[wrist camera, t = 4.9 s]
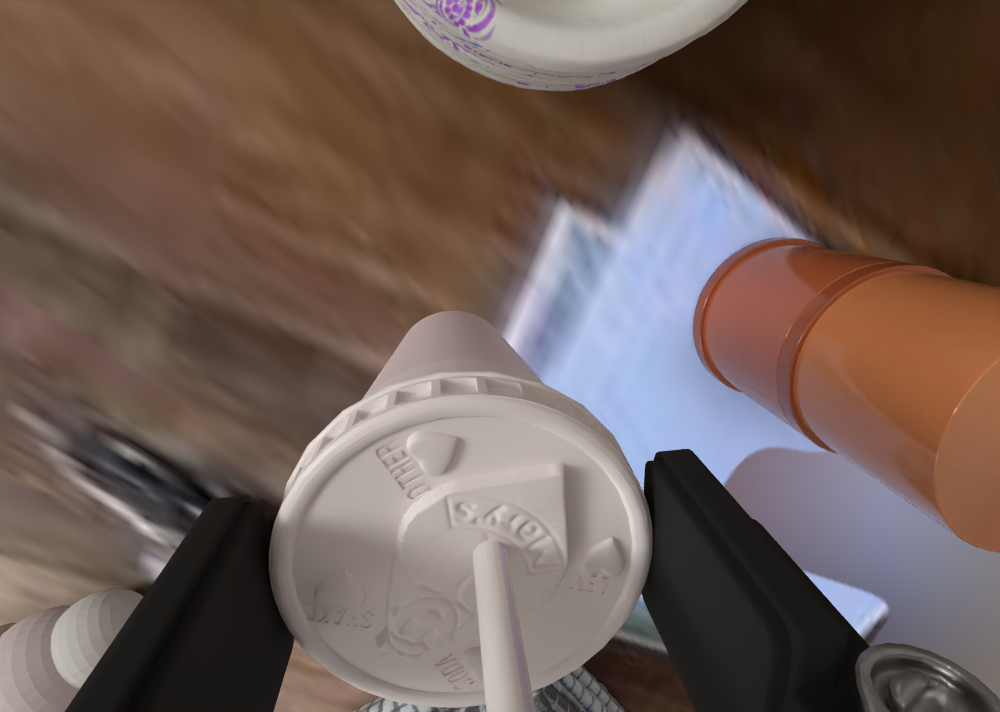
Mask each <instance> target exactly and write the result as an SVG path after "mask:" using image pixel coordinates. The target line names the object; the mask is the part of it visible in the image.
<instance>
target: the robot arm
mask: <svg viewBox="0 0 1000 712" xmlns="http://www.w3.org/2000/svg"><path fill="white" fill-rule="evenodd" d="M644 496H645V499H646V502H647V505H648V508H649V513H650V518H651V523H652V537H653V541H652V556H651V562H650V568H649V572H648V575H647V579H646V582H645V585H644V587H643V590H642V596H643V599H644V602H645V604H646V606H647V609H648V611H649V613H650V615H651V617H652V619H653V621H654V624H655V626H656V628H657V630H658V632H659V634H660V636H661V639H662V641H663V643H664V645H665V647H666V649H667V651H668V654H669V656H670V658H671V660H672V662H673V664H674V666H675V669H676V671H677V673H678V675H679V677H680V679H681V681H682V684H683V686H684V688H685V690H686V692H687V694H688V696H689V699H690V701H691V703H692V705H693V707H694V709H695V711H696V712H1000V699H999V698H998V697H997V695H996V694H995V693H993V692H992V691H991V690H990V689H989V688H988V687H987V686H986V685H985V684H983V683H982V682H981V681H980V680H979V679H978V678H977V677H976V676H974V675H972V674H971V673H969V672H968V671H966V670H965V669H963V668H962V667H960V666H959V665H957V664H956V663H954V662H952V661H950V660H948V659H946V658H944V657H941V656H939V655H937V654H935V653H933V652H931V651H928V650H924V649H920V648H917V647H914V646H910V645H904V644H893V643H886V644H880V645H875V646H871V647H870V646H869V645H868V644H867V643H866V642H865V641H864V639H863V638H862V637H861V636H860V635H859V634H858V633H857V632H856V630H855V629H854V628H853V627H852V626H851V625H850V624H849V623H848V621H847V620H846V619H845V618H844V617H843V616H842V615H841V614H840V612H839V611H838V610H837V609H836V608H835V607H834V606H833V605H832V603H831V602H830V601H829V600H828V599H827V598H826V597H825V596H824V595H823V593H822V592H821V591H820V590H819V589H818V588H817V587H816V586H815V584H814V583H813V582H812V581H811V580H810V579H809V578H808V577H807V575H806V574H805V573H804V572H803V571H802V570H801V569H800V568H799V567H798V565H797V564H796V563H795V562H794V561H793V560H792V559H791V557H790V556H789V555H788V554H787V553H786V552H785V551H784V550H783V549H782V547H781V546H780V545H779V544H778V543H777V542H776V541H775V540H774V538H773V537H772V536H771V535H770V534H769V533H768V532H767V531H766V529H765V528H764V527H763V526H762V525H761V524H760V523H758V522H757V521H756V520H754V519H752V518H751V517H750V516H749V515H748V514H747V513H746V512H745V511H744V510H743V508H742V507H741V506H740V505H739V504H738V503H737V501H736V500H735V499H734V498H733V497H732V496H731V495H730V494H729V492H728V491H727V490H726V489H725V488H724V487H723V485H722V484H721V483H720V482H719V481H718V480H717V479H716V477H715V476H714V475H713V474H712V473H711V472H710V471H709V470H708V468H707V467H706V466H705V465H704V464H703V463H702V462H701V460H700V459H699V458H698V457H697V456H696V455H695V454H694V452H693V451H691V450H690V449H681V450H671V451H662V452H657V453H656V455H655V457H654V461H648V462H646V465H645V477H644ZM271 536H272V533H271V528H270V524H269V520H268V516H267V512H266V509H265V506H264V505H263V503H254V500H253V499H252V497H251V496H249V495H245V496H235V497H226V498H217V499H212V500H211V501H210V502H209V503H208V504H207V506H206V507H205V509H204V510H203V512H202V513H201V514H200V516H199V517H198V519H197V520H196V522H195V523H194V525H193V526H192V528H191V529H190V531H189V532H188V534H187V535H186V537H185V538H184V539H183V541H182V542H181V544H180V545H179V547H178V548H177V550H176V551H175V553H174V554H173V556H172V557H171V559H170V560H169V562H168V563H167V564H166V566H165V567H164V569H163V570H162V572H161V573H160V575H159V576H158V578H157V579H156V581H155V582H154V584H153V585H152V586H151V588H150V589H149V591H148V592H147V594H146V595H145V596H144V597H143V598H142V599H141V600H140V602H139V603H138V605H137V606H136V608H135V609H134V611H133V612H132V614H131V615H130V617H129V618H128V619H127V621H126V622H125V624H124V625H123V627H122V628H121V630H120V631H119V633H118V634H117V636H116V637H115V638H114V640H113V641H112V643H111V644H110V646H109V647H108V649H107V650H106V652H105V653H104V655H103V656H102V657H101V659H100V660H99V662H98V663H97V665H96V666H95V668H94V669H93V671H92V672H91V674H90V675H89V676H88V678H87V679H86V681H85V682H84V684H83V685H82V687H81V688H80V690H79V691H78V693H77V694H76V695H75V697H74V698H73V700H72V701H71V703H70V704H69V706H68V707H67V709H66V710H65V712H273V711H274V708H275V704H276V701H277V698H278V695H279V691H280V688H281V685H282V681H283V678H284V675H285V671H286V668H287V665H288V661H289V658H290V655H291V652H292V648H293V643H294V636H293V635H292V633H291V632H290V631H289V629H288V628H287V626H286V624H285V622H284V620H283V618H282V616H281V615H280V612H279V609H278V607H277V604H276V602H275V599H274V595H273V591H272V587H271V581H270V573H269V550H270V542H271Z"/></svg>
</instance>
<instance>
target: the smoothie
mask: <svg viewBox="0 0 1000 712" xmlns="http://www.w3.org/2000/svg"><path fill="white" fill-rule="evenodd" d="M652 541H653V537H652V523H651V518H650V513H649V508H648V505H647V502H646V499H645V496H644V493H643V491H642V489H641V486H640V484H639V482H638V480H637V478H636V477H635V475H634V473H633V471H632V469H631V467H630V465H629V463H628V461H627V459H626V458H625V456H624V454H623V452H622V450H621V448H620V446H619V444H618V442H617V441H616V439H615V437H614V435H613V434H612V433H611V432H610V431H609V430H608V429H607V428H606V427H605V426H604V425H603V424H602V423H601V422H600V421H599V420H597V419H596V418H595V417H594V416H593V415H592V414H591V413H590V412H589V411H588V410H587V409H586V408H585V407H584V406H583V405H582V404H580V403H578V402H577V401H575V400H573V399H571V398H569V397H567V396H565V395H564V394H562V393H560V392H558V391H556V390H554V389H552V388H550V387H549V386H547V385H545V384H544V383H543V382H542V381H541V379H540V378H539V377H538V376H537V375H536V374H535V373H534V372H533V370H532V369H531V368H530V367H529V366H528V365H527V364H526V363H525V362H524V360H523V359H522V358H521V357H520V356H519V355H518V354H517V353H516V352H515V350H514V349H513V348H512V347H511V346H510V345H509V344H508V343H507V342H506V340H505V339H504V338H503V337H502V336H501V335H500V334H499V333H498V331H497V330H496V329H495V328H494V327H493V326H492V325H491V324H489V323H488V322H487V321H485V320H484V319H482V318H480V317H478V316H476V315H474V314H471V313H467V312H462V311H444V312H439V313H436V314H433V315H430V316H428V317H426V318H424V319H422V320H421V321H419V322H418V323H417V324H415V325H414V326H413V327H412V328H411V329H410V330H409V332H408V333H407V334H406V336H405V337H404V338H403V340H402V341H401V343H400V344H399V346H398V347H397V349H396V350H395V352H394V353H393V355H392V356H391V358H390V359H389V361H388V362H387V364H386V365H385V367H384V368H383V369H382V371H381V372H380V374H379V375H378V377H377V378H376V380H375V381H374V383H373V384H372V386H371V387H370V389H369V390H368V392H367V393H366V395H365V396H364V398H363V399H362V400H361V401H359V402H357V403H356V404H354V405H352V406H350V407H349V408H347V409H345V410H343V411H342V412H341V413H340V414H339V415H338V416H337V417H336V418H335V419H334V420H333V421H332V422H331V423H330V424H329V425H328V426H327V427H326V428H325V429H324V430H323V431H322V432H321V433H320V434H319V435H318V436H317V437H316V438H315V439H314V440H313V441H312V442H311V443H310V444H309V445H308V446H307V448H306V450H305V451H304V453H303V455H302V457H301V459H300V460H299V462H298V464H297V466H296V468H295V470H294V471H293V473H292V475H291V477H290V479H289V480H288V482H287V484H286V488H285V493H284V498H283V503H282V505H281V507H280V510H279V513H278V515H277V518H276V520H275V524H274V528H273V532H272V536H271V542H270V550H269V573H270V581H271V587H272V591H273V595H274V599H275V602H276V604H277V607H278V609H279V612H280V615H281V616H282V618H283V620H284V622H285V624H286V626H287V628H288V629H289V631H290V632H291V633H292V635H293V636H294V638H295V639H296V641H297V642H298V643H299V644H300V645H301V646H302V648H303V649H304V650H305V651H306V652H307V653H308V654H309V655H310V656H311V657H312V658H313V659H314V660H315V661H316V662H317V663H319V664H320V665H321V666H322V667H324V668H325V669H326V670H328V671H329V672H330V673H331V674H333V675H334V676H336V677H338V678H340V679H341V680H343V681H345V682H347V683H349V684H351V685H352V686H354V687H356V688H358V689H360V690H362V691H365V692H368V693H370V694H373V695H376V696H379V697H382V698H385V699H388V700H390V701H395V702H401V703H406V704H412V705H417V706H423V707H448V708H459V707H469V706H478V705H486V712H536V711H535V706H534V700H533V694H532V692H533V691H535V690H538V689H540V688H542V687H545V686H547V685H550V684H552V683H554V682H555V681H557V680H559V679H560V678H562V677H564V676H565V675H567V674H569V673H571V672H572V671H574V670H576V669H577V668H579V667H580V666H582V665H583V664H584V663H585V662H586V661H588V660H589V659H590V658H591V657H593V656H594V655H595V654H596V653H597V652H598V651H600V650H601V649H602V648H603V647H604V646H605V645H606V644H607V643H608V642H609V641H610V639H611V638H612V637H613V636H614V635H615V634H616V633H617V632H618V630H619V629H620V628H621V626H622V625H623V624H624V623H625V621H626V620H627V618H628V617H629V615H630V613H631V612H632V610H633V609H634V607H635V605H636V603H637V601H638V599H639V597H640V595H641V592H642V590H643V587H644V585H645V582H646V579H647V575H648V572H649V568H650V562H651V556H652Z"/></svg>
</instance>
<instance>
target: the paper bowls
mask: <svg viewBox="0 0 1000 712" xmlns="http://www.w3.org/2000/svg"><path fill="white" fill-rule="evenodd" d="M394 1H395V3H396V4H397V5H398V6H399V8H400V9H401V10H402V12H403V13H404V14H405V15H406V16H407V18H408V19H409V20H410V21H411V23H412V24H413V25H414V26H415V27H416V28H417V29H418V30H419V31H420V32H421V33H422V35H423V36H424V37H425V38H426V39H427V40H428V41H429V42H430V43H431V44H433V45H434V46H435V47H436V48H438V49H439V50H440V51H442V52H443V53H444V54H446V55H447V56H449V57H450V58H452V59H453V60H455V61H457V62H459V63H461V64H462V65H464V66H466V67H467V68H469V69H471V70H473V71H475V72H477V73H479V74H481V75H483V76H485V77H488V78H491V79H493V80H496V81H499V82H502V83H505V84H510V85H513V86H516V87H520V88H526V89H534V90H545V91H573V90H582V89H588V88H591V87H595V86H599V85H603V84H607V83H609V82H612V81H615V80H618V79H621V78H624V77H625V76H627V75H630V74H632V73H635V72H637V71H639V70H641V69H643V68H645V67H647V66H649V65H651V64H653V63H654V62H656V61H658V60H659V59H662V58H664V57H666V56H668V55H670V54H672V53H674V52H676V51H678V50H680V49H681V48H683V47H684V46H686V45H687V44H689V43H690V42H692V41H693V40H695V39H697V38H699V37H701V36H703V35H705V34H707V33H708V32H710V31H711V30H713V29H714V28H715V27H717V26H718V25H720V24H721V23H722V22H724V21H725V20H727V19H728V18H729V17H730V16H731V15H732V14H734V13H735V12H736V11H737V10H738V9H739V8H740V7H741V6H742V5H743V4H745V3H746V2H747V1H748V0H394Z"/></svg>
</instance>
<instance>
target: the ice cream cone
mask: <svg viewBox="0 0 1000 712" xmlns="http://www.w3.org/2000/svg"><path fill="white" fill-rule="evenodd" d="M143 597H144V596H142V595H141V594H139V593H137V592H134V591H131V590H127V589H108V590H103V591H99V592H95V593H93V594H91V595H88V596H86V597H84V598H82V599H81V600H79V601H78V602H76V603H75V604H73V605H72V606H59V607H54V608H50V609H46V610H42V611H40V612H37V613H35V614H33V615H30V616H28V617H26V618H24V619H22V620H21V621H19V622H18V623H10V624H5V625H2V626H0V712H65V710H66V709H67V707H68V706H69V704H70V703H71V701H72V700H73V698H74V697H75V695H76V694H77V693H78V691H79V690H80V688H81V687H82V685H83V684H84V682H85V681H86V679H87V678H88V676H89V675H90V674H91V672H92V671H93V669H94V668H95V666H96V665H97V663H98V662H99V660H100V659H101V657H102V656H103V655H104V653H105V652H106V650H107V649H108V647H109V646H110V644H111V643H112V641H113V640H114V638H115V637H116V636H117V634H118V633H119V631H120V630H121V628H122V627H123V625H124V624H125V622H126V621H127V619H128V618H129V617H130V615H131V614H132V612H133V611H134V609H135V608H136V606H137V605H138V603H139V602H140V600H141V599H142V598H143Z"/></svg>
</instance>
